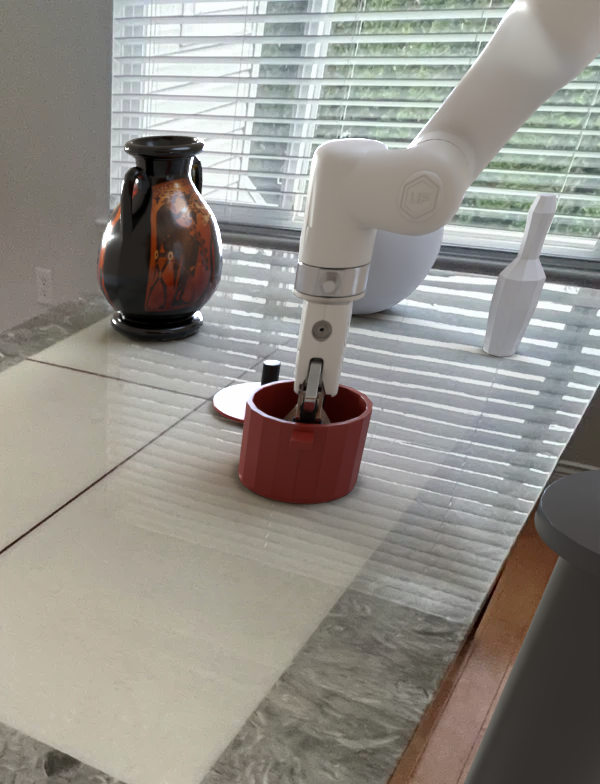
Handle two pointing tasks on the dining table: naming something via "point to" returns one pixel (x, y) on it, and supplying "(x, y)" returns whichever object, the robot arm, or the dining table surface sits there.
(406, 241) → the pot
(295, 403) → the enamel pot
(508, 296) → the low poly bottle
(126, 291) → the amphora vase
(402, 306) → the dining table surface
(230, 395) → the lid
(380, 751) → the dining table surface
